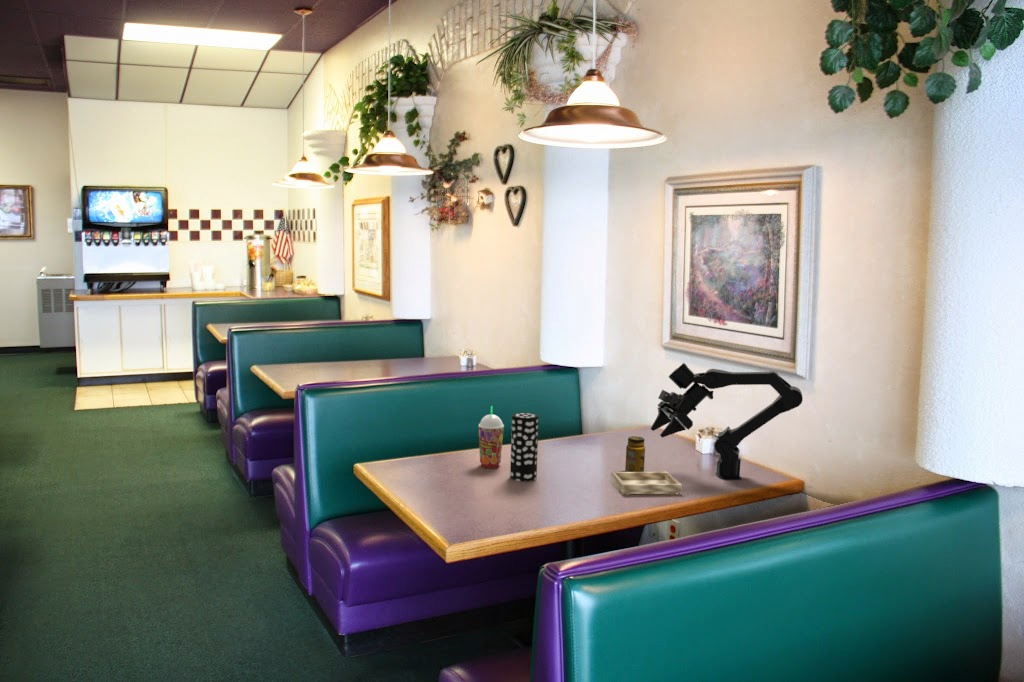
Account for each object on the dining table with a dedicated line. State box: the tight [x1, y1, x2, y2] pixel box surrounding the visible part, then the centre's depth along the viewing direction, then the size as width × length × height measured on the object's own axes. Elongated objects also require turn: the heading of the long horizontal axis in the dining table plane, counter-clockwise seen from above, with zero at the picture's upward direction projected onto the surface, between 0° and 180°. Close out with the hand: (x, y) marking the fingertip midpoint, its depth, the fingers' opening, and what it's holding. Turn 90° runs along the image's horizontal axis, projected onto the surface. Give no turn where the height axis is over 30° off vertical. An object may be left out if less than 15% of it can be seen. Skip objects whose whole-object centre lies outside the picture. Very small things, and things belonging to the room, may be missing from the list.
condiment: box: [619, 435, 646, 472], centre depth 280 cm, size 7×8×12 cm
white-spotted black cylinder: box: [509, 412, 540, 482], centre depth 271 cm, size 8×8×20 cm
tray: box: [610, 471, 682, 496], centre depth 266 cm, size 18×14×3 cm
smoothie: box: [477, 405, 505, 469], centre depth 284 cm, size 8×8×20 cm
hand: (656, 433), depth 280 cm, fingers open, 9 cm apart
